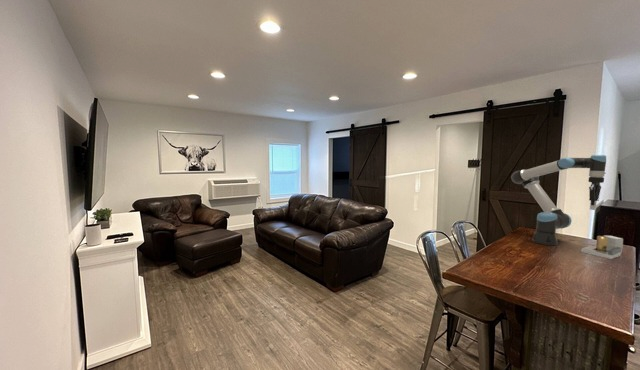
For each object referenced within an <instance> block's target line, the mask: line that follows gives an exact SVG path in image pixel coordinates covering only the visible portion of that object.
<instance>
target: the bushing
mask: <svg viewBox="0 0 640 370" xmlns="http://www.w3.org/2000/svg"><path fill="white" fill-rule="evenodd" d="M604 236H605V235H597V236H596V245H595V247H596V250H597V251H602V252H606V250H607V242H608V237H604Z"/></svg>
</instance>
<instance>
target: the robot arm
mask: <svg viewBox="0 0 640 370" xmlns="http://www.w3.org/2000/svg"><path fill="white" fill-rule="evenodd" d="M606 166H607V155H605V154H592V155H590V157H563V158H562V157H561V158H560V159H559V160H555V161H553V162H548V163H545V164H542V165H537V166H534V167H532V168H528V169H520V170H516V171H514V172H513V173H512V174H511V176H510V178H511V181H512V182H513V183H514V184H517V185H522V187H523V188H524V189H527V190H528V192H529V193H530V194H531V196H532V197H533V198H534V200H535V201H536V202H537V204H538V205H539V206H540V208H541V210H542V211H541V212H539V213H537V216H536V227H535V233H534V234H533V236H532V239H531V241H532V242H533V243H535V244H539V245H545V246H558V239H557V235H556V233H557V231H556V230H559V229H565V228H568V227H570V225H571V224H572V218H571V216H570V215H569V214H567V213H565V212H563V210H562V209H561V208H558V207H557V206H556V205H555V203H554V202H553V201H552V199H551V198H550V196H549V195H548V194H547V192H546V191H545V190H544V189H543V187H542V186H541V185H540V179H539V178H540V176H545V175H548V174H551V173H556V172H559V171H560V172H561V171H565V170H568V169H589V171H588V176H589V177H588V182H589V183H591V184H590V186H589V187H588V190H589V195H588V196H589V199H588V201H590V203H589V204H590V205H589V210H593V211H596V210H597V204H598V203H597V202H599V199H600V194H601V189H602V186H601V183H603V184H604V181H605V174H606Z"/></svg>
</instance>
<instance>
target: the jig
mask: <svg viewBox="0 0 640 370" xmlns="http://www.w3.org/2000/svg"><path fill="white" fill-rule="evenodd" d="M580 252H581V253H584V254H589V255H591V256H592V255H593V256H597V257H602V258H604V259H605V258H606V259H610V260H613V259H616V258H618V257H620V256H621V255H622V253H621V248H620V247H616V248H613V249H610V250H609V249H607V250H606V252H602V251H597V250H596V245H588V246H585V247H582V248H581V250H580Z"/></svg>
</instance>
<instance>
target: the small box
mask: <svg viewBox="0 0 640 370" xmlns="http://www.w3.org/2000/svg"><path fill="white" fill-rule="evenodd" d="M603 236H604V237H608V242H607V249H609V250H610V249H613V248H616V247H620V248H621V254H622V253H623V248H624V247H623V245H624V238H623V237H617V236H615V235H614V236H613V235H603Z"/></svg>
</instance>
